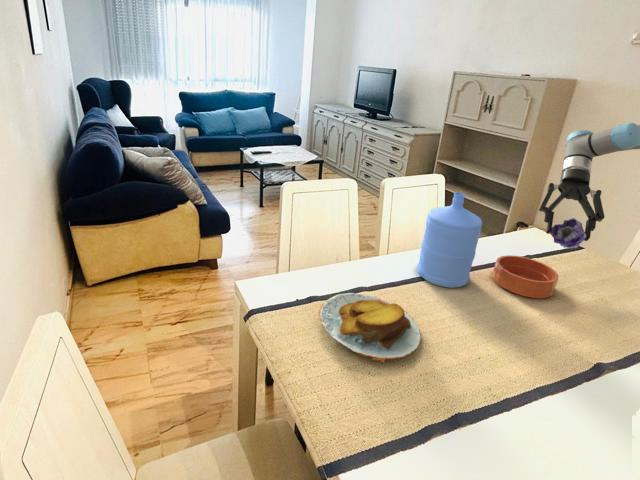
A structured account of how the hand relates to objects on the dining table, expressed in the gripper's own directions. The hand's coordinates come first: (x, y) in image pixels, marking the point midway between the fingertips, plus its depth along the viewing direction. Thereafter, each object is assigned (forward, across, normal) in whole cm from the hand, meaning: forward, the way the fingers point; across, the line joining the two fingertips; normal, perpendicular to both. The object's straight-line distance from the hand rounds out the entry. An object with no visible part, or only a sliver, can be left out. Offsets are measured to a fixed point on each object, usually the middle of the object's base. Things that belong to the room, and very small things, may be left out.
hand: (567, 235), depth 117 cm
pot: (+17, +9, -7) cm, 20 cm away
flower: (+1, -1, -5) cm, 5 cm away
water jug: (+23, +31, -1) cm, 39 cm away
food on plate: (+50, +44, +26) cm, 72 cm away
